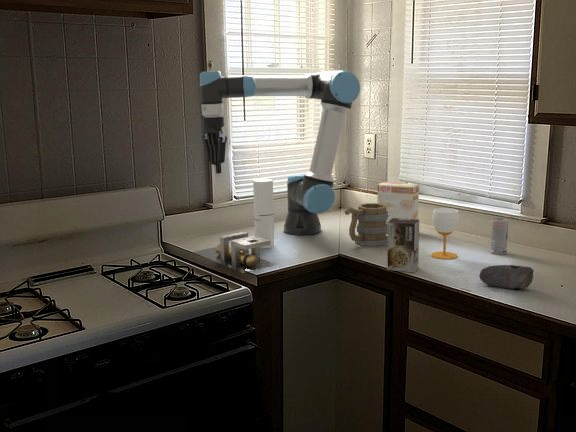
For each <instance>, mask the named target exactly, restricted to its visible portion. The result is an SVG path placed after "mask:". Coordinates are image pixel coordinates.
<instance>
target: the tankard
mask: <svg viewBox="0 0 576 432" xmlns="http://www.w3.org/2000/svg"><path fill="white" fill-rule="evenodd" d="M357 207H358V208H357V209H355V208H352V207H350V206H349V207H347V208H346V209H345V210H344V213H345V215H346V216H349V215H350V214H351V221H350V225H349V230H348V231H349V233H348V235H349V237H350V239H351V241H352V242H354V243H355V244H357V245H359V246H363V247H381V246H387V245H388V235H387V234H388V233H387V230H388V227H387V224H386V220H387V219H388V211H386V205H384V204H378V203H377V202H372V203H371V202H367V203H361V204H359V205H358V206H357ZM356 233H357V234H356Z"/></svg>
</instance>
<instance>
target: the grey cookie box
mask: <svg viewBox="0 0 576 432" xmlns="http://www.w3.org/2000/svg"><path fill="white" fill-rule="evenodd" d="M387 227H388V233H387V236H388V244H387V258H386V260H387V263H386V264H387V267H386V270H387V271H396V272H406V273H415V272H416V271H417V270H418V269H419V264H420V263H419V260H420V259H419V258H420V257H419V253H420V252H419V251H420V250H419V249H420V219H418V220H415V219H401V218H392V219H391V220H390V221H389V222H387Z"/></svg>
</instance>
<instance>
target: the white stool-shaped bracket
mask: <svg viewBox="0 0 576 432" xmlns="http://www.w3.org/2000/svg"><path fill="white" fill-rule="evenodd" d="M266 245H270V240H268V239H265V238H262V237H259V236H255V235H250V236H248V237H246V238H241V239H236V240H231V241H230V247H231V257H232V265H233V266H235V267H237V266H241V257H240V248H241V249H244V250H247V249H249V250H250V249H251V250H250V251H251V252H250V254H252V255H254V256H256V257H257V262H259V261H260V258H261V248H260V247H261V246H266Z"/></svg>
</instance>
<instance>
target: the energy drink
mask: <svg viewBox="0 0 576 432" xmlns="http://www.w3.org/2000/svg"><path fill="white" fill-rule="evenodd" d="M508 232H509V220H508V219H507V218H504V217H495V218H492V220H491V234H490V235H491V236H490V253H491V254H493V255H497V256H498V255H499V256H502V255H506V254H507V250H508V249H507V248H508Z"/></svg>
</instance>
